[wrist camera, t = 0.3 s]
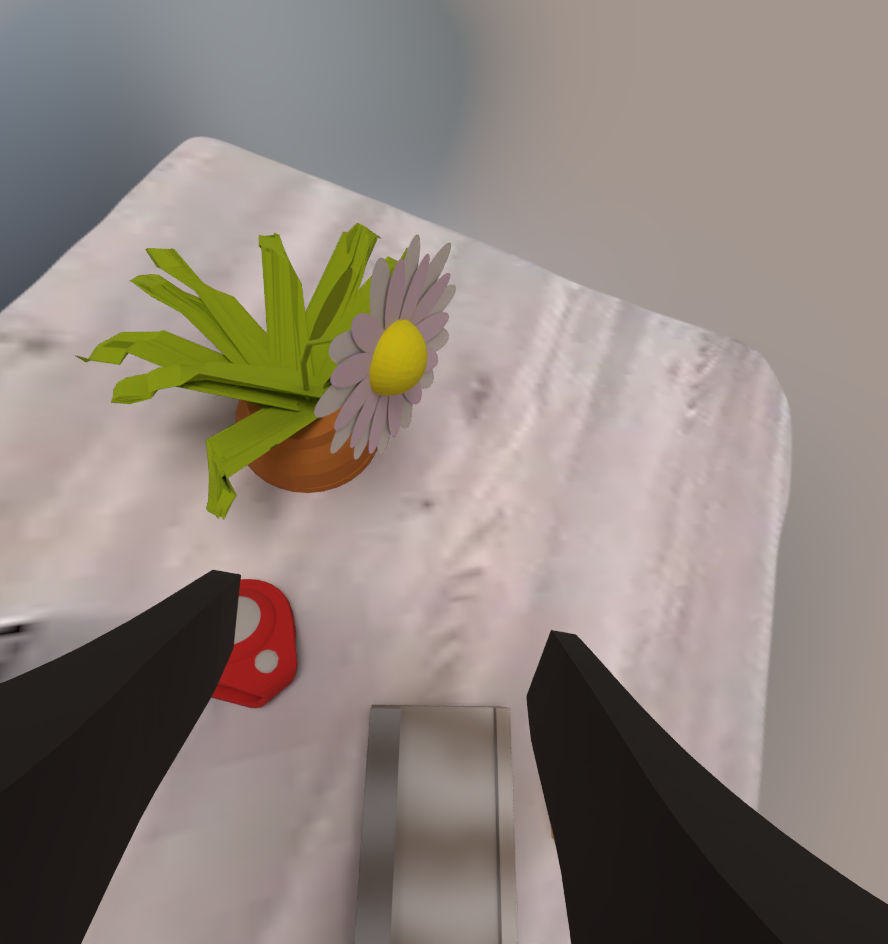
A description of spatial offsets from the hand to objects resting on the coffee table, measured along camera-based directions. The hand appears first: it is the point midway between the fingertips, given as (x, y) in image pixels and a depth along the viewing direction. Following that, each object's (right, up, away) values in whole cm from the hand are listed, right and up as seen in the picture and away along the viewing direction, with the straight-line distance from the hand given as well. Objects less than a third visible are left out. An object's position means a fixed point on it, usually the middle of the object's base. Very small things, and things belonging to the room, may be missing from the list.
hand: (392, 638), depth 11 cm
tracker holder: (-16, -10, +27) cm, 33 cm away
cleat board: (+1, -23, +23) cm, 32 cm away
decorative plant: (-12, +9, +36) cm, 39 cm away
